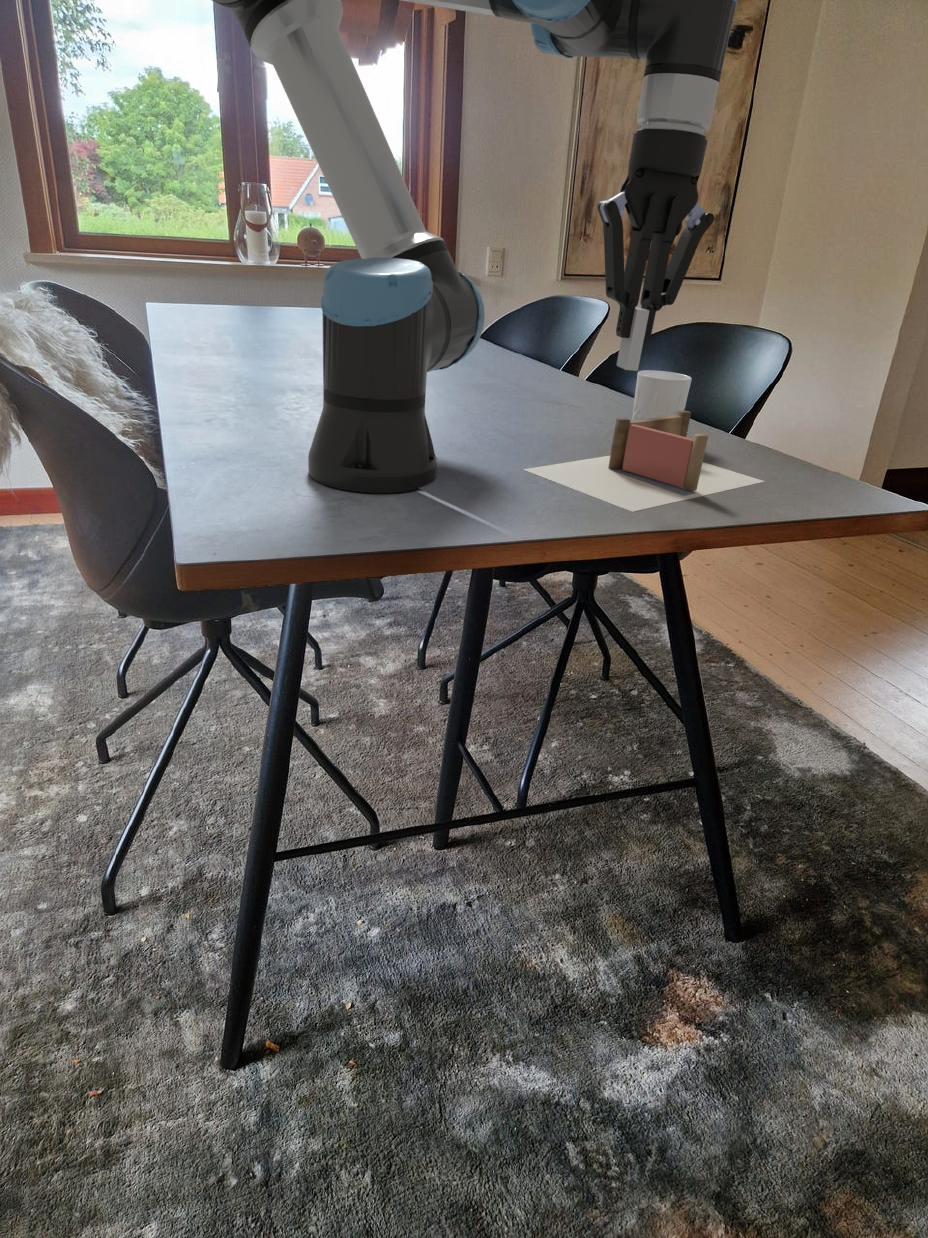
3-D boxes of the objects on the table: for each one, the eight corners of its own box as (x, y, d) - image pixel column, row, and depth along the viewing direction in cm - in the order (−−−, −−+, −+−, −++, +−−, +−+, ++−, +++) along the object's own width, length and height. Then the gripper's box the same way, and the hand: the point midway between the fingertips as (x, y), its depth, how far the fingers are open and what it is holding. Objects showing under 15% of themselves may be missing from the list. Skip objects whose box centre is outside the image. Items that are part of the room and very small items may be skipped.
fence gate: (699, 489, 97) (710, 435, 94) (692, 491, 96) (704, 437, 93) (627, 468, 103) (636, 417, 100) (620, 469, 102) (629, 418, 99)
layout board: (631, 515, 88) (632, 510, 88) (522, 472, 100) (522, 468, 100) (764, 484, 104) (765, 480, 103) (656, 450, 116) (657, 447, 116)
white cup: (639, 432, 126) (650, 368, 121) (686, 443, 122) (699, 376, 117) (618, 440, 120) (629, 373, 115) (666, 451, 116) (680, 381, 112)
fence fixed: (615, 471, 102) (624, 421, 99) (605, 467, 103) (613, 418, 101) (684, 459, 111) (693, 412, 108) (674, 455, 112) (683, 409, 109)
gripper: (709, 141, 85) (662, 365, 96) (599, 124, 82) (563, 358, 93) (747, 137, 79) (692, 377, 90) (629, 118, 76) (587, 371, 86)
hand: (626, 367), depth 91 cm, fingers closed
